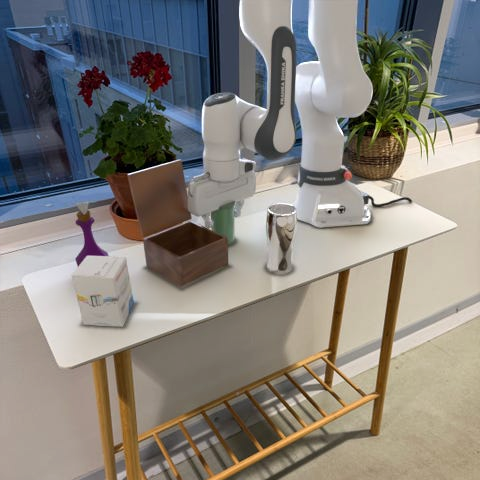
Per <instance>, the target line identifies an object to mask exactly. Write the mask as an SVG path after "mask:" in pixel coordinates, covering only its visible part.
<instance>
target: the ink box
mask: <svg viewBox="0 0 480 480" xmlns="http://www.w3.org/2000/svg"><path fill="white" fill-rule="evenodd" d="M71 279H72V282H73V287H74V291H75V295H76V299H77V304H78V307H79V308H78V309H79V312H80V316H81V317H80V318H81V319H82V324H83V326H97V327H117V328H122V327H124V326H125V323H126V320H127V319H128V318H129V317H128V316H129V315H130V310H131V307H132V306H133V304H134V302H135V301H134V296H133V291H132V285H131V280H130V274H129V268H128V262H127V257H126V256H113V255H109V256H89V255H88V256H86V258H85V259H84V260H83V261H82V263H81V264H80V265H79V266H77V267H76V269H75V270H74V271H73V272H72V274H71Z"/></svg>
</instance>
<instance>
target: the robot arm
mask: <svg viewBox="0 0 480 480" xmlns="http://www.w3.org/2000/svg"><path fill="white" fill-rule="evenodd" d="M358 3H359V0H308V18H307V19H308V23H307V27H308V28H307V35H308V36H307V37H308V40H309V42H310V44H311V45H312V46H313V48H314V50H315V53H316V55H317V58H318V59H317V60H318V61H315V60H314V61H306V62H301V63H300V64H298V65H297V41H296V37H295V35H294V31H293V22H292V21H293V20H292V19H293V18H292V17H293V16H292V11H293V0H239V7H238V9H239V10H238V13H239V15H238V16H239V25H240V29H241V31H242V34H243V35H244V37H245V38H246V39H247V40H248V42H249V43H250V44H251V45H253V46H254V48H256V50H257V51H258V52H259V53H260V55H261V56H262V58H263V60H264V63H265V66H266V70H267V82H266V83H267V84H266V85H267V87H266V90H267V91H266V108H265V107H262V106H260V105H256V104H252V103H249V102H247V101H245V100H243V99H241V98H239V96H237V95H236V94H235V93H233V92H227V91H225V92H218V93H215V94H212V95H210V96H208V98H206V99H205V100H204V102H203V105H202V108H201V109H202V110H201V138H202V142H203V151H202V163H203V165H202V166H203V167H202V168H203V173H202V174H200V175H199V174H198V175H195V176H193V177H192V179H191V180H190V181H189V182H188V186H187V189H188V190H187V195H188V211H189V212H190V213H191V215H193V216H196V217H198V218H199V217H201V218H202V220H203V221H204V227H206V228H208V229H211V228H212V227H214V221H213V220H211V212H212V211H215V210H218V209H219V207H220V206H223V205H225V204H228V203H231V202H233V201H235V206H234V218H239V217H241V215H242V209H243V207H244V204H245V200H246V199H249V198H252V197H253V196H254V195H255V193H256V189H257V177H256V176H257V175H256V172H255V170H256V162H255V161H253V160H251V159H248V158H246V157H241V151H242V150H243V149H247V150H250V151H252V152H254V153H256V154H258V155H259V156H260V157H263V158H264V159H266V160H267V161H271V162H277V161H280V160H282V159H284V158H285V157H286V156H287V155H289V153H291V151H292V150H293V148H294V146H295V144H296V140H297V137H298V136H297V134H298V133H297V132H298V131H297V129H298V128H297V121H296V114H295V113H296V112H295V111H296V110H297V114H298V118H299V122H300V128H301V157H300V158H301V160H300V164H299V166H298V171H297V185H298V186H297V193H296V198H295V202H294V205H293V206H294V207H296V208H297V221H301V222H304V223H307V224H310V225H312V226H313V227H316V228H334V227H345V226H358V225H359V226H360V225H368V224H369V223H370V222H371V219H372V214H371V210H369V208H368V206H366V205H368V204H369V201H370V203H371V206H373V207H375V208H381V207H386V206H389V205H392V204H394V203H398V202H401V201H408V202H409V203H413V200H412V198H410V197H408V196H404V197H400V198H397V199H392V200H390V201H388V202H383V203H375V199H374V198H373V196H371V195H370V194H368V193H366V192H364V191H362V190H361V189H359V188H358V187H356V186H355V185H354V184H353V183H352V182H351V181H350V180H351V179H352V178H353V174H352V172H351V171H350V170H349V169H348V168H347V167H346V166H345V164H343V157H344V147H345V135H344V133H343V131H342V129H341V128H340V126H339V123H338V120H337V118H342V119H343V118H345V119H347V118H350V119H352V118H357V117H359V116H362V114H364V113H365V112H366V111H367V109H368V107H369V106H370V104H371V102H372V98H373V91H374V90H373V84H372V81H371V79H370V77H369V76H368V75H367V73H366V72H365V70H364V67H363V65H362V61H361V58H360V57H361V56H360V52H359V47H358V41H357V20H358V8H359V7H358V5H359V4H358ZM295 106H296V109H295Z"/></svg>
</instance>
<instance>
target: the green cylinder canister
mask: <svg viewBox="0 0 480 480" xmlns="http://www.w3.org/2000/svg"><path fill="white" fill-rule="evenodd" d="M235 205H236V203H235V201H233V202H231V203H228V204H225V205H223V206H220V207H219V209H218V210H215V211H212V212H210V219H211V220H213V221H214V227H212V228H210V230H212V231H215V232H217V233H219V234H221V235H223V236H225V237H227V238H228V245H229V244H232V243H234V242H235V217H234V208H235Z"/></svg>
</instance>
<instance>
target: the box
mask: <svg viewBox="0 0 480 480" xmlns="http://www.w3.org/2000/svg"><path fill="white" fill-rule="evenodd" d="M142 242H143V243H142V244H143V249H144V257H145V266H146V267H148V268H149V269H151V270H153V271H155V272H156V273H158V274H159V275H161V276H163V277H165V278H166V279H168V280H170V281H171V282H172V283H174V284H177V285H178V286H179V287H184V286H186V285H188V284H190V283H193V282H194V281H196V280H199V279H201V278H203V277H205V276H207V275H209V274H211V273H213V272H215V271H217V270H220V269H222V268H224V267H226V266H229V244H228V238H227V237H225V236H223V235H221V234H219V233H217V232H215V231H212V230H211V228H209V229H208V228H206V227H205V225H202V224H200V223H197V222H195V221H193V220H187V221H185V222H182V223H180V224H177V225H174V226H172V227H169V228H166V229H164V230H161V231H159V232H156V233H153V234H151V235H148V236H145V237H143V238H142Z"/></svg>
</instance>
